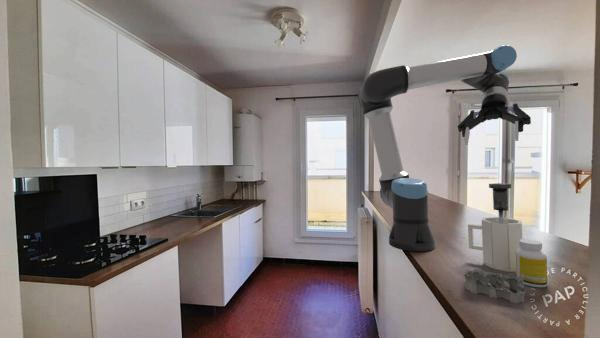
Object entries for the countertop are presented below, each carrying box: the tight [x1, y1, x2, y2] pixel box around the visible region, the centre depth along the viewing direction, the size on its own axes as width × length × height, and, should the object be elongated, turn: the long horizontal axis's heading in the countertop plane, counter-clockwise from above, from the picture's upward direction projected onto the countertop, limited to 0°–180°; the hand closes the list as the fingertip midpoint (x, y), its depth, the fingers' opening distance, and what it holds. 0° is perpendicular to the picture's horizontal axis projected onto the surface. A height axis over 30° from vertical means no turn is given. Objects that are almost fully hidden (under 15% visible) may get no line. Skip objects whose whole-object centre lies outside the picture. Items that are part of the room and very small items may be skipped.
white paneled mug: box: [467, 216, 524, 273], centre depth 71 cm, size 12×8×12 cm
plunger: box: [488, 182, 512, 223], centre depth 69 cm, size 6×6×20 cm
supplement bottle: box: [515, 238, 548, 288], centre depth 59 cm, size 5×5×10 cm
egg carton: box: [464, 268, 526, 304], centre depth 57 cm, size 11×8×4 cm
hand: (489, 140), depth 84 cm, fingers open, 13 cm apart
